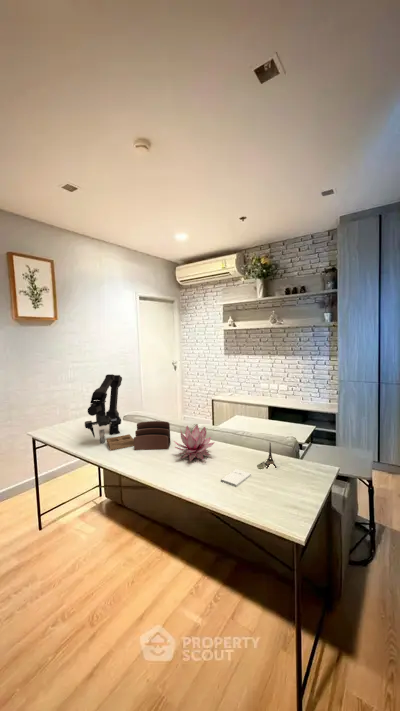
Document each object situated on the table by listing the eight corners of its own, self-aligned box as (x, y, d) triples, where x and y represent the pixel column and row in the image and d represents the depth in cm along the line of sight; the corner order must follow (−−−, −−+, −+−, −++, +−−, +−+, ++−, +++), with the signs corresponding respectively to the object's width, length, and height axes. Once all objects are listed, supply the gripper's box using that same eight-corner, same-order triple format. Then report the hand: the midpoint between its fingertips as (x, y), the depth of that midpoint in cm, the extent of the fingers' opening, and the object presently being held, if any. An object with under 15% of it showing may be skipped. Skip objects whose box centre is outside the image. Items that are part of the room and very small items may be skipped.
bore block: (106, 444, 180) (106, 438, 180) (129, 439, 187) (129, 434, 186) (110, 450, 170) (109, 444, 169) (134, 445, 176) (134, 440, 176)
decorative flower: (188, 446, 172) (187, 420, 171) (221, 452, 161) (220, 425, 160) (165, 460, 154) (164, 432, 153) (201, 468, 143) (200, 438, 142)
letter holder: (138, 444, 179) (136, 421, 178) (170, 443, 179) (169, 420, 178) (134, 450, 169) (132, 426, 168) (168, 449, 169) (167, 425, 168)
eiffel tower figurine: (269, 458, 153) (268, 433, 152) (287, 464, 145) (286, 438, 144) (252, 469, 142) (251, 441, 141) (270, 475, 135) (269, 447, 134)
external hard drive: (220, 482, 131) (236, 471, 140) (236, 488, 125) (251, 476, 135) (220, 479, 130) (235, 468, 140) (236, 484, 125) (251, 473, 135)
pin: (99, 442, 184) (98, 429, 183) (104, 441, 185) (103, 428, 184) (100, 444, 181) (99, 431, 180) (105, 443, 182) (104, 430, 182)
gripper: (85, 416, 170) (87, 443, 172) (118, 411, 179) (120, 437, 180) (83, 412, 180) (85, 437, 182) (115, 407, 189) (116, 431, 190)
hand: (102, 436), depth 183 cm, fingers open, 9 cm apart
